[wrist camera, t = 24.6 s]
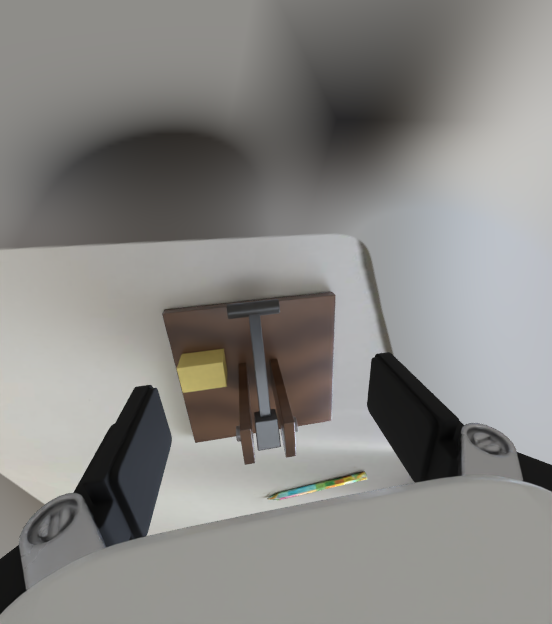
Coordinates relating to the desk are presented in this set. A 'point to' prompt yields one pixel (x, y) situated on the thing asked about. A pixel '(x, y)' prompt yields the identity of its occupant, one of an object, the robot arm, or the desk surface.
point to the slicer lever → (260, 369)
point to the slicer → (241, 373)
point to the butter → (202, 370)
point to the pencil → (319, 486)
